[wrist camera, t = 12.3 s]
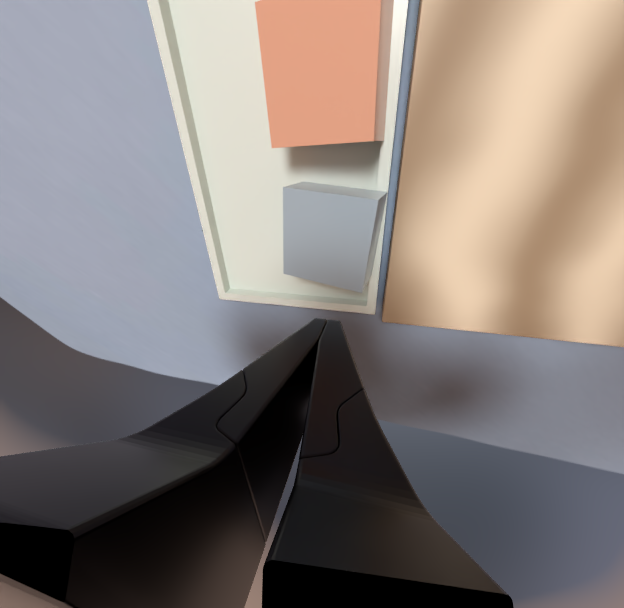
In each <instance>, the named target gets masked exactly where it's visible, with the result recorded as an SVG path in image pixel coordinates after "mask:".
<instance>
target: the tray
mask: <svg viewBox="0 0 624 608" xmlns="http://www.w3.org/2000/svg"><path fill="white" fill-rule="evenodd" d="M257 1H260V0H147V2H148V6H149V10H150V15H151V19H152V23H153V27H154V31H155V35H156V39H157V43H158V48H159V52H160V56H161V60H162V64H163V68H164V72H165V76H166V80H167V85H168V89H169V93H170V97H171V101H172V105H173V109H174V113H175V117H176V122H177V126H178V130H179V134H180V138H181V142H182V146H183V150H184V154H185V159H186V163H187V167H188V171H189V175H190V179H191V183H192V187H193V192H194V196H195V200H196V204H197V208H198V212H199V216H200V220H201V224H202V229H203V233H204V237H205V241H206V245H207V249H208V253H209V257H210V261H211V266H212V270H213V274H214V278H215V282H216V286H217V290H218V294H219V299H224V300H234V301H244V302H254V303H264V304H274V305H284V306H294V307H304V308H314V309H324V310H335V311H345V312H355V313H365V314H375V309H376V299H377V290H378V280H379V271H380V262H381V252H382V243H383V233H384V224H385V215H386V205H387V197H386V203H385V208H384V213H383V218H382V223H381V229H380V234H379V239H378V244H377V249H376V255H375V260H374V265H373V270H372V275H371V277H370V279H369V281H368V283H367V285H366V286H365V288H364V290H363V292H362V293H360V292H356V291H352V290H347V289H343V288H339V287H335V286H331V285H327V284H323V283H319V282H315V281H311V280H307V279H303V278H299V277H295V276H291V275H287V274H284V273H283V187H285V186H289V185H292V184H296V183H299V182H312V183H320V184H328V185H336V186H344V187H352V188H360V189H368V190H376V191H385V192H387V196H388V186H389V177H390V168H391V158H392V149H393V139H394V130H395V120H396V111H397V102H398V92H399V83H400V73H401V64H402V55H403V45H404V36H405V26H406V17H407V8H408V0H394V6H393V20H392V35H391V49H390V64H389V78H388V93H387V107H386V122H385V136H384V141H373V142H359V143H344V144H330V145H316V146H301V147H285V148H272V146H271V138H270V129H269V120H268V112H267V103H266V95H265V86H264V77H263V69H262V60H261V51H260V43H259V34H258V25H257V17H256V8H255V2H257Z"/></svg>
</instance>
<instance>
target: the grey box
mask: <svg viewBox="0 0 624 608" xmlns="http://www.w3.org/2000/svg"><path fill="white" fill-rule="evenodd" d="M386 197H387V192H385V191H376V190H368V189H360V188H352V187H344V186H336V185H328V184H320V183H312V182H299V183H296V184H292V185H289V186H285V187H283V273H284V274H287V275H291V276H295V277H299V278H303V279H307V280H311V281H315V282H319V283H323V284H327V285H331V286H335V287H339V288H343V289H347V290H352V291H356V292H360V293H362V292H363V290H364V288H365V286H366V285H367V283H368V281H369V279H370V277H371V275H372V270H373V265H374V260H375V255H376V249H377V244H378V239H379V234H380V229H381V223H382V218H383V213H384V208H385V203H386Z"/></svg>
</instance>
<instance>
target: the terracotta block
mask: <svg viewBox="0 0 624 608" xmlns="http://www.w3.org/2000/svg"><path fill="white" fill-rule="evenodd" d="M393 6H394V0H260V1H257V2H255V8H256V17H257V25H258V34H259V43H260V51H261V60H262V69H263V77H264V86H265V95H266V103H267V112H268V120H269V129H270V138H271V146H272V148H285V147H301V146H316V145H330V144H344V143H359V142H373V141H384V136H385V122H386V107H387V93H388V78H389V64H390V49H391V35H392V20H393Z"/></svg>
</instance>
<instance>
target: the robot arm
mask: <svg viewBox="0 0 624 608" xmlns="http://www.w3.org/2000/svg"><path fill="white" fill-rule="evenodd" d="M302 435H303V438H302ZM301 438H302V444H301V450H300V456H299V463H298V468H297V473H296V478H295V483H294V486H293V489H292V492H291V495H290V497H289V500H288V503H287V505H286V508H285V511H284V513H283V516H282V519H281V521H280V524H279V527H278V529H277V532H276V535H275V537H274V540H273V542H272V545H271V548H270V550H269V553H268V556H267V558H266V561H265V564H264V567H263V587H262V608H513V602H512V599H511V597H510V596H509V595H508V594H507V593H506V592H505V591H504V590H503V589H502V588H501V587H500V586H499V585H498V584H497V583H496V582H495V581H494V580H493V579H492V578H491V577H490V576H489V575H488V574H487V573H486V572H485V571H484V570H483V569H482V568H481V567H480V566H479V565H478V564H477V563H476V562H475V561H474V559H473V558H472V557H470V555H469V554H468V553H466V551H465V550H464V549H463V548H462V547H461V546H460V545H459V544H458V543H457V542H456V541H455V540H454V539H453V538H452V537H451V536H450V535H449V534H448V533H447V532H446V531H445V530H444V529H443V528H442V527H441V526H440V525H439V524H438V523H437V522H436V520H435V519H434V518H432V516H431V515H430V513H429V512H428V511H427V509H426V508H425V507H424V505H423V504H422V502H421V501H420V499H419V498H418V496H417V494H416V493H415V491H414V489H413V487H412V485H411V484H410V482H409V480H408V478H407V476H406V474H405V472H404V471H403V469H402V467H401V465H400V463H399V461H398V459H397V457H396V456H395V454H394V452H393V450H392V448H391V446H390V444H389V442H388V441H387V439H386V437H385V435H384V433H383V431H382V429H381V427H380V425H379V423H378V421H377V419H376V417H375V414H374V412H373V409H372V407H371V404H370V402H369V399H368V396H367V394H366V391H365V389H364V386H363V383H362V380H361V377H360V375H359V372H358V369H357V366H356V364H355V361H354V358H353V355H352V352H351V350H350V347H349V344H348V341H347V339H346V336H345V333H344V330H343V327H342V325H341V322H340V321H335V320H328V321H327V320H325V319H314V320H312V321H311V322H309V323H308V324H307V325H305V326H304V327H302V328H301V329H300V330H298V331H297V332H295V333H294V334H292V335H291V336H290V337H288V338H287V339H285V340H284V341H282V342H281V343H280V344H278V345H277V346H275V347H274V348H273V349H271V350H270V351H268V352H267V353H265V354H264V355H263V356H261V357H260V358H258V359H257V360H255V361H254V362H253V363H251V364H250V365H248V366H247V367H246V368H244V369H243V371H242V370H241V371H240V372H238V373H237V374H235V375H234V376H233V377H231V378H230V379H228V380H227V381H225V382H224V383H222V384H221V385H219V386H218V387H216V388H215V389H213V390H211V391H210V392H208V393H206V394H205V395H203V396H201V397H200V398H198V399H196V400H195V401H193V402H191V403H190V404H188V405H186V406H184V407H183V408H181V409H179V410H177V411H176V412H174V413H173V414H171V415H169V416H167V417H165V418H164V419H162V420H160V421H159V422H157V423H155V424H153V425H152V426H150V427H148V428H146V429H144V430H142V431H140V432H138V433H135V434H133V435H130V436H127V437H124V438H119V439H115V440H110V441H103V442H96V443H90V444H83V445H76V446H69V447H62V448H56V449H49V450H42V451H35V452H29V453H22V454H15V455H8V456H1V457H0V608H244V606H245V603H246V601H247V598H248V595H249V592H250V589H251V586H252V583H253V580H254V577H255V574H256V571H257V568H258V565H259V562H260V559H261V556H262V554H263V551H264V548H265V542H266V541H267V538H268V536H269V532H270V530H271V526H272V524H273V521H274V518H275V515H276V512H277V509H278V506H279V503H280V500H281V497H282V494H283V491H284V488H285V485H286V482H287V479H288V477H289V473H290V471H291V468H292V465H293V462H294V459H295V456H296V453H297V450H298V447H299V444H300V441H301Z"/></svg>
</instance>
